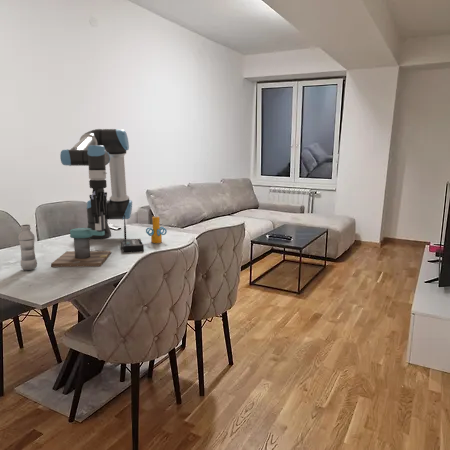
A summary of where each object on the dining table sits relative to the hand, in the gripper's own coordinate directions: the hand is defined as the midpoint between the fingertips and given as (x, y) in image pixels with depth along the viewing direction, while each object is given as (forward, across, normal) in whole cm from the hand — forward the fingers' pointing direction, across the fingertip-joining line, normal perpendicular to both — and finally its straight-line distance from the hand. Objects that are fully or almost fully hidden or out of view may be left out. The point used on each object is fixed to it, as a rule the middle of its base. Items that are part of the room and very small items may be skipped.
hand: (100, 229), depth 184 cm
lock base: (+16, +1, +10) cm, 19 cm away
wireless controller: (+16, +28, -4) cm, 32 cm away
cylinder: (+16, +43, -13) cm, 47 cm away
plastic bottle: (+16, -18, +25) cm, 35 cm away
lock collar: (+4, 0, +7) cm, 8 cm away
